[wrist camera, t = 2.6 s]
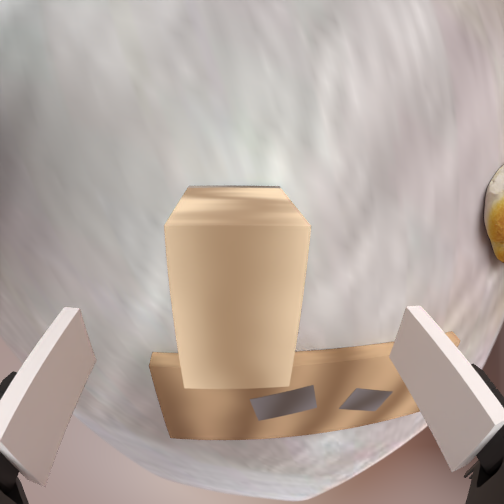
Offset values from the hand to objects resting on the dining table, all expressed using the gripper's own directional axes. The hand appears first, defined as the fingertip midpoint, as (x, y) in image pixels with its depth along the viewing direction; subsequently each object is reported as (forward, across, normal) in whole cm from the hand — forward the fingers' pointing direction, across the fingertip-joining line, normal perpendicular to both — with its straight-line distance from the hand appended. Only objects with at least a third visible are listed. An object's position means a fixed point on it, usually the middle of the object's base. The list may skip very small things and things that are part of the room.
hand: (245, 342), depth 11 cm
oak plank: (+8, +7, -13) cm, 16 cm away
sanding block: (+8, 0, 0) cm, 8 cm away
